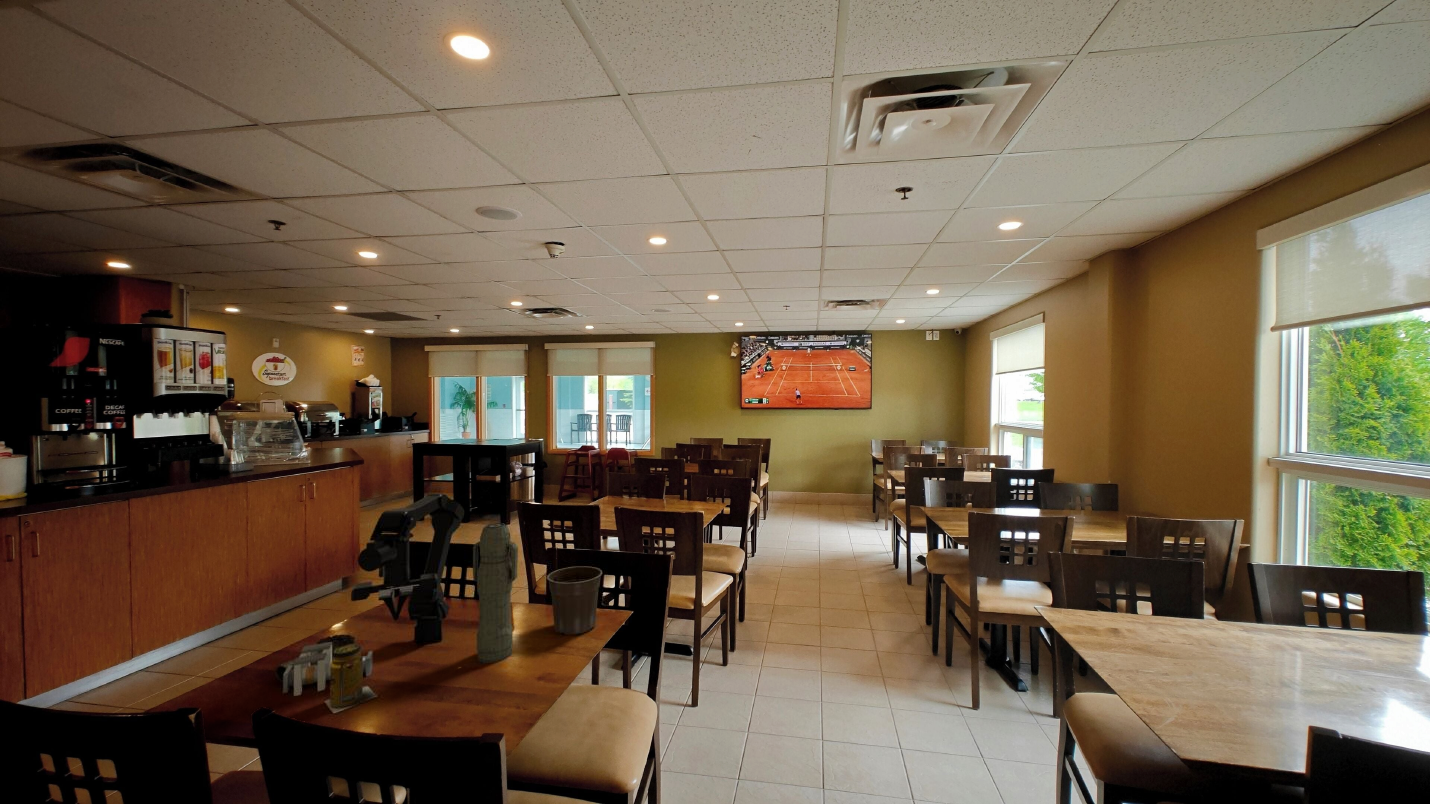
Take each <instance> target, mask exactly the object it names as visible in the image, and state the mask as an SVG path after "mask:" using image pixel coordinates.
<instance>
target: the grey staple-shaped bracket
mask: <svg viewBox="0 0 1430 804" xmlns="http://www.w3.org/2000/svg"><path fill="white" fill-rule="evenodd" d="M320 650H323V652H322V653H321V654H315V655H310V652H314V651H320ZM296 658H297V659H296ZM296 658H295V659H296V661H295V663H294V687H293V696H294V697H296V696H301V695H302V692H303V685H302V666H303V668H304V667H308V666H310V662H316V661H318V682H317V692H320V691H324V690H325V688H326V680H325V664H326V663H331V662H333V661H332V642H328V643H322V644H317V643H316V644H311V645H306V646H303V648H302V650H301V652H300V655H299V656H298V657H296Z"/></svg>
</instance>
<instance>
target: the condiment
mask: <svg viewBox="0 0 1430 804" xmlns="http://www.w3.org/2000/svg"><path fill="white" fill-rule="evenodd" d="M361 649H362V647H361V644H357V643H355V644H349V645H344V646H341V647H339V648H337V649H335V650H334V651H333V654H332V655H333V659H332V663H331V668H330V682H329V686H330V688H329V695H330V696H329V699H327V700H325V701H324V703H325V704H326V705H327V707H328V708H329V710H330V711H331V712H332V714H336V713H339V712H341V711H344V710H346V709H349V708H352V707H355V706H357V705H359V704H361V703H365V702H367V701H370V700H372V699H373V698H377V697H378V695H377V694H376V693H375V692H374V691H373V690H372V689H371V688H370V687H369V686H368V685H366V686H363V682H364V681H363V679H364V678H363V677H364V673H363V658H362V657H363V656H362V651H361Z"/></svg>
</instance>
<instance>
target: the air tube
mask: <svg viewBox="0 0 1430 804" xmlns="http://www.w3.org/2000/svg"><path fill="white" fill-rule="evenodd" d="M362 658H363V674H365V677H366V678H367V677H370V676H371V674H372V671H373V650H370V651H368V652H367V655H363V656H362ZM332 662H333V661H332ZM332 662H331V663H332ZM331 663H326V664H325V681H329V680H330V668H331ZM315 683H318V665H311V666H308V667H304V668H302V686H304V685H306V686H308V685H313V684H315ZM291 688H294V669H293V665H291V666H288V668H287V669H286V671H285V672H284V674H283V682H282V694H285V693H286V694H287V693H288V692H289V690H290V689H291Z"/></svg>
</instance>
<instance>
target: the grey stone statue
mask: <svg viewBox="0 0 1430 804" xmlns="http://www.w3.org/2000/svg"><path fill="white" fill-rule="evenodd" d="M510 553H511V556H510ZM518 553H519V547H518V545H517V544H516V542H512V540H511V531H510V530H509V526H508V525H507V524H505V523H503V522H502V523H501V522H495V523H489V524H486V525H485V526H483V527H482V530H481V534H480V538H479V541H477V542H475V544H474V545H473V547H472V577H473V581H474V582H475V583H476V584H477V586H476V591H477V594H478V599H479V601H478V602H479V603H478V606H479V607H478V611H479V612H478V615H479V616H478V630H477V633H476V650H477V657H476V659H477V660H478V661H479V662H480V663H484V664H488V663H489V664H491V663H497V662H500V661H504V660H506V659H508V658H509V657H511V656H512V654H513V647H512V646H513V643H514V642H513V641H514V640H513V638H514V637H513V636H514V635H513V634H514V633H513V632H514V631H513V629H514V627H513V624H512V620H511V615H512V614H511V612H512V611H511V610H512V609H511V607H512V606H511V605H512V604H511V600H512V599H511V596H512V595H511V594H512V593H511V591H512V589H513V587H514V586H513V582H514V581H515V580H516V579H517V578H518V557H519V556H518V555H519V554H518ZM479 556H480V560H479Z"/></svg>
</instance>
